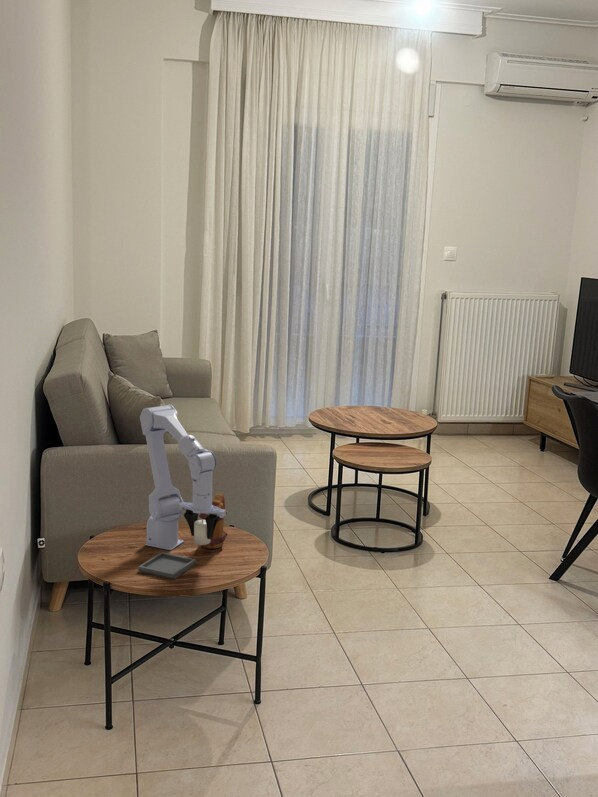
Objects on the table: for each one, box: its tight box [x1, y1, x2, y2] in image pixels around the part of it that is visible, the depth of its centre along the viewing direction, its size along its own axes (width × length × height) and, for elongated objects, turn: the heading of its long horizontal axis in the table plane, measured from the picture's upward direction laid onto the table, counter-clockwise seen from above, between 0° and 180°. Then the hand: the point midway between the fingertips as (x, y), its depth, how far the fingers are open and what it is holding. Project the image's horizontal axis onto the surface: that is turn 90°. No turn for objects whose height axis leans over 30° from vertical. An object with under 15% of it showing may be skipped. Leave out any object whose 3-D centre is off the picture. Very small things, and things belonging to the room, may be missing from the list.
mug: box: [198, 493, 228, 550], centre depth 254 cm, size 15×8×15 cm, turn 168°
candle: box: [193, 519, 210, 546], centre depth 238 cm, size 5×5×7 cm
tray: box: [137, 551, 197, 581], centre depth 236 cm, size 12×12×2 cm
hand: (202, 536), depth 238 cm, fingers closed on candle, 5 cm apart
